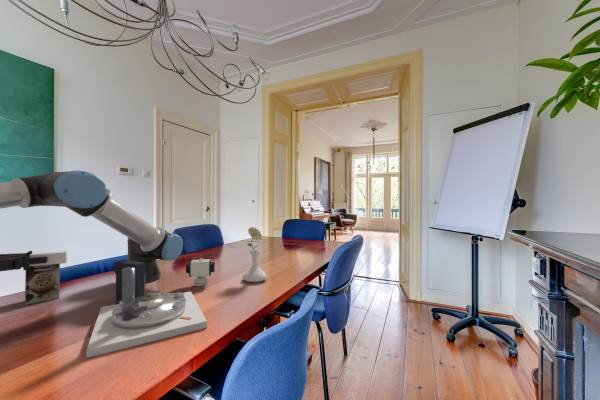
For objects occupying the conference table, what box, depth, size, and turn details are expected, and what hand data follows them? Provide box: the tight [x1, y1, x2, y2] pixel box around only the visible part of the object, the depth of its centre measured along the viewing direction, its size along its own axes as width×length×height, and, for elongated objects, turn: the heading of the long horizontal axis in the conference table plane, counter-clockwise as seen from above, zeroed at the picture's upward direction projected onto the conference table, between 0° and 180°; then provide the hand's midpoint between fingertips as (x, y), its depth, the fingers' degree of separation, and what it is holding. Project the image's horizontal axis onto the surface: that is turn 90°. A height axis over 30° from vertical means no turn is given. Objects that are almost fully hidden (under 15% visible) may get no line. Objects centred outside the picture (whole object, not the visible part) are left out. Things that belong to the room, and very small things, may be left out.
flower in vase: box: [242, 226, 268, 283], centre depth 122 cm, size 13×11×25 cm
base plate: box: [86, 291, 208, 358], centre depth 81 cm, size 28×28×2 cm
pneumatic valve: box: [185, 257, 216, 287], centre depth 114 cm, size 6×12×12 cm, turn 101°
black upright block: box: [113, 259, 146, 303], centre depth 95 cm, size 11×4×15 cm, turn 71°
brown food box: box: [24, 264, 61, 306], centre depth 96 cm, size 9×6×16 cm
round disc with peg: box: [112, 267, 186, 329], centre depth 81 cm, size 20×20×16 cm
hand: (66, 257), depth 65 cm, fingers closed
